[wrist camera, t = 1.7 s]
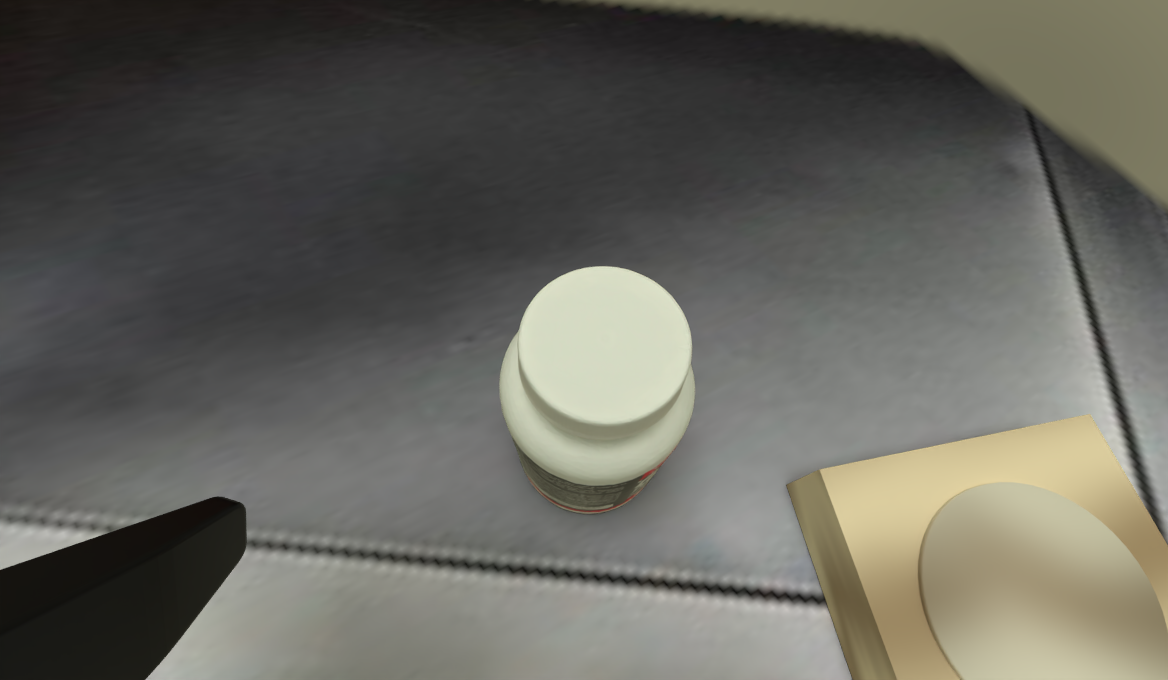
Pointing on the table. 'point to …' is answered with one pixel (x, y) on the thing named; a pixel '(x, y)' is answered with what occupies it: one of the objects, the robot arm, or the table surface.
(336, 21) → the table surface
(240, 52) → the table surface
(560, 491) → the pill bottle
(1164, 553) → the pedestal
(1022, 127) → the table surface
